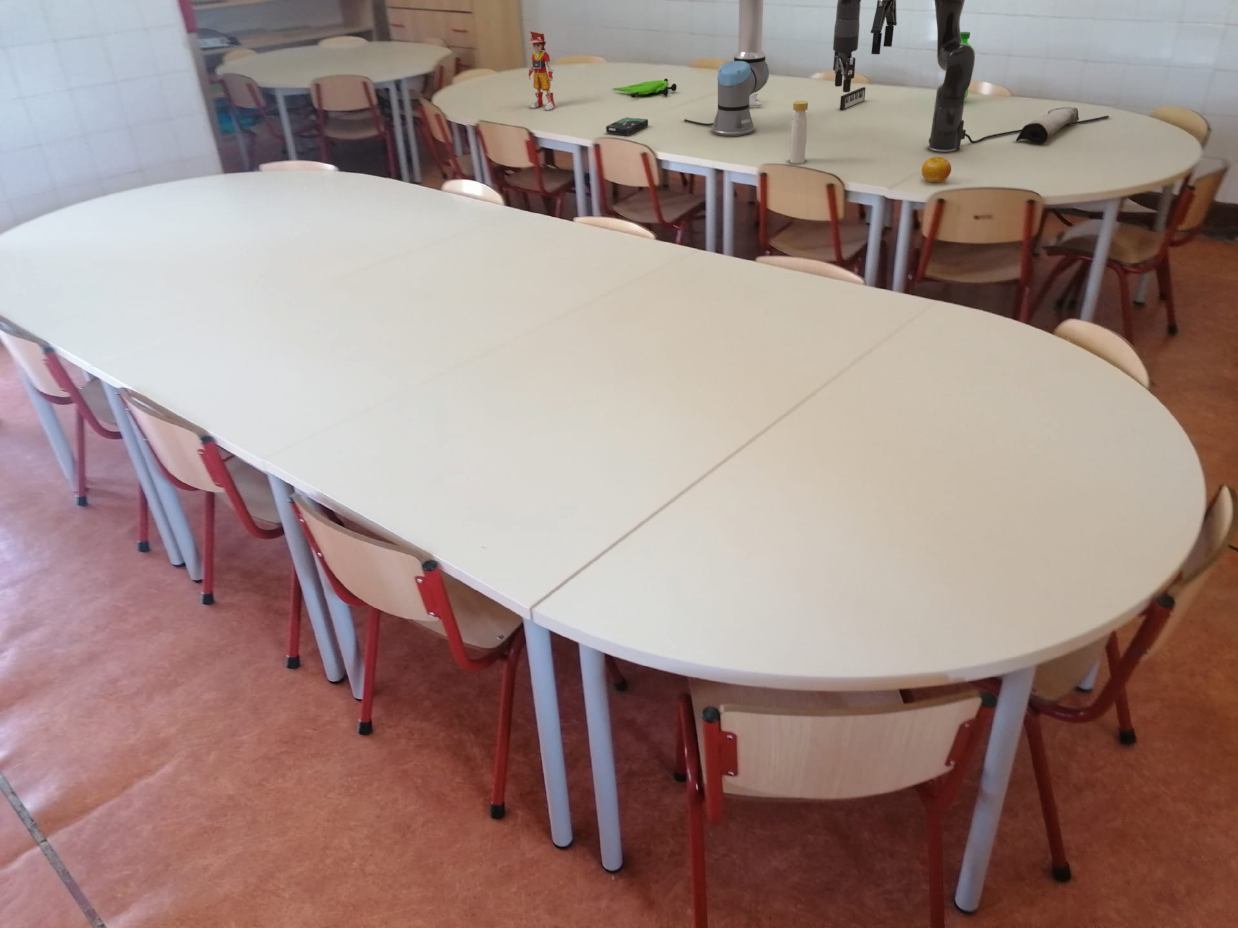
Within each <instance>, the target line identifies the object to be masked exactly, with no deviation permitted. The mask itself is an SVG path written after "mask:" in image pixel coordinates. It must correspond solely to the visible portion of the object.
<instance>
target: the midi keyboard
mask: <svg viewBox="0 0 1238 928" xmlns="http://www.w3.org/2000/svg"><path fill="white" fill-rule="evenodd" d="M866 90H867V89H866V87H865V86H863V87H860V88H857V89H855V90H852V91H850V92H846V93H845V94H843V95H841V96H840V102H839V110H840V111H841V110H845V109H847V108H849V107H851V106H854V105H856V104H858V103H861V102H863V101H865V99H866Z"/></svg>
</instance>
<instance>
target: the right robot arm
mask: <svg viewBox="0 0 1238 928" xmlns="http://www.w3.org/2000/svg"><path fill="white" fill-rule="evenodd" d="M933 1H934V9H935V10H934V11H935V19H936V29H937V30H936V31H937V32H936V34H937V35H936V36H937V38H936V39H937V40H936V41H937V43H936V46H937V47H936V59H937V64H938V66H939V67H940V69H941V70H942V71H944V72H945V74H944V79H943V83H942V84H940V85H938V86H937V88H936V95H935V102H934V108H933V116H932V123H931V129H930V136H929V138H928V150H930V151H932V152H935V153H953V152H956V151H960V149H961V143H962V140H965V138H967V139H968V141H969V142H970V143H971V144H977V143H979V142H982V141H984V140H985V139H991V138H994V137H999V136H1005V135H1011V134H1015V133H1020V132H1021V130H1022V128H1021V129H1016V130H1015V129H1014V130H1009V131H1005V132H1000V133H999V132H998V133H994V134H990V135H987V136H983V137H981V138H979V139H977V140H973V139H972V138H971V136H970V134H968V133H966V132H967V130H966V129H964V124H965V120H963V115H964V108H965V103H966V98H967V97H966V92H967V89H968V90H969V87H970V85H971V82H972V77H973V74H974V73H973V72H974V67H975V60H976V52H975V53H974V50H975V49H974V47H972V45H971V46H969V45H967V44H964V43H962V40H961V34H960V32H961V18H962V17H961V16H962V12H963V9H964V6H965V1H966V0H933ZM861 2H862V0H837V2H836V11H835V15H836V16H835V22H834V28H833V29H834V31H833V44H832V45H833V46H832V50H833V53H834V54H833V66H832V70H833V71H834V74H835V75H834V76H835V77H834V87H836V88H838V87H842V92H843V93H850V92H851V87H852V86H851V85H852V80H853V79H854V78H855V71H856V57H853V55H852V54H853V52H857V50H858V49H859V38H860V23H861V22H860V17H861V16H860V15H861ZM973 49H974V50H973ZM965 97H966V98H965ZM1109 117H1110V116H1109V115H1104V116H1100V117H1099V116H1098V117H1095V118H1090V119H1084V120H1078V121H1077V122H1075V123H1071V124H1065V125H1064V126H1071V125H1072V126H1073V125H1077V124H1083V123H1084V124H1085V123H1088V122H1090V123H1091V122H1095V121H1099V120H1103V119H1107V118H1108V119H1109ZM1064 126H1063V127H1064Z"/></svg>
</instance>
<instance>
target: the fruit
mask: <svg viewBox="0 0 1238 928" xmlns="http://www.w3.org/2000/svg"><path fill="white" fill-rule="evenodd" d="M951 173H952V165H951V163H950V161H949V160H948V159H947V158H945V157H943V156H933V157H929V158H927V159H926V160H925V161H924V162H923V164H922V166H921V176H922V177H923V179H924V180H925V181H927V182H930V183H941V182H944V181H945V180H946V179H948V178H949V177H950V175H951Z"/></svg>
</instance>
